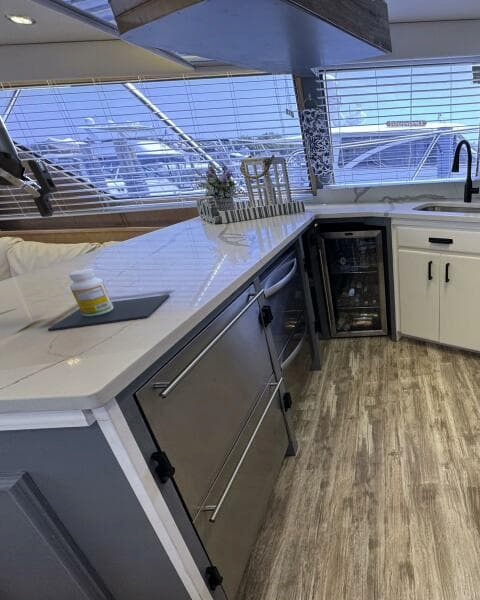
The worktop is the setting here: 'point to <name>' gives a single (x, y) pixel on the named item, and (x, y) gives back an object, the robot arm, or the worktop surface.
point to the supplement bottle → (90, 293)
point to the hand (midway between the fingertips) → (20, 218)
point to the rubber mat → (114, 313)
